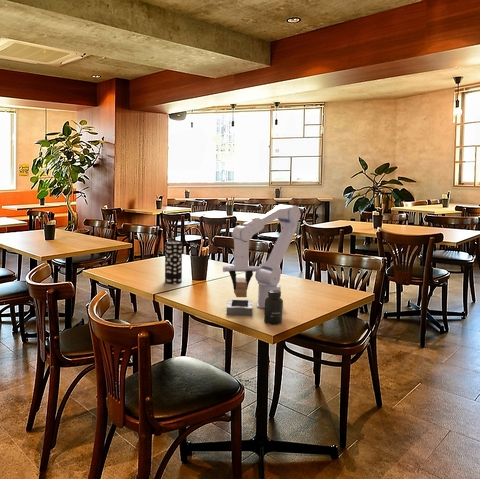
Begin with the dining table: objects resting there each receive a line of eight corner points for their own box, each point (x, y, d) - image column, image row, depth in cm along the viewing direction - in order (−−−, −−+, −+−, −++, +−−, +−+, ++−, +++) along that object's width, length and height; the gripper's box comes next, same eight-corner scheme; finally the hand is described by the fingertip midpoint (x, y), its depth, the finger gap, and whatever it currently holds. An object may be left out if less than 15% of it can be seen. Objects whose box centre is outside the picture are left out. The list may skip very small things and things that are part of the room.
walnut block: (246, 297, 183) (247, 282, 183) (236, 297, 183) (236, 282, 182) (243, 291, 192) (243, 277, 191) (233, 291, 192) (234, 277, 191)
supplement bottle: (274, 326, 170) (275, 294, 168) (260, 322, 174) (261, 290, 173) (285, 322, 175) (287, 291, 173) (271, 318, 180) (272, 287, 178)
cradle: (252, 306, 194) (252, 299, 194) (251, 315, 182) (252, 308, 181) (228, 305, 194) (228, 298, 194) (226, 314, 182) (226, 307, 182)
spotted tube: (179, 279, 239) (180, 241, 236) (183, 283, 231) (183, 243, 228) (163, 280, 236) (163, 241, 233) (166, 284, 228) (166, 244, 226)
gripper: (257, 254, 190) (256, 286, 192) (222, 254, 188) (221, 286, 190) (260, 257, 183) (259, 291, 185) (223, 257, 181) (223, 291, 183)
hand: (240, 289), depth 187 cm, fingers closed on walnut block, 4 cm apart
